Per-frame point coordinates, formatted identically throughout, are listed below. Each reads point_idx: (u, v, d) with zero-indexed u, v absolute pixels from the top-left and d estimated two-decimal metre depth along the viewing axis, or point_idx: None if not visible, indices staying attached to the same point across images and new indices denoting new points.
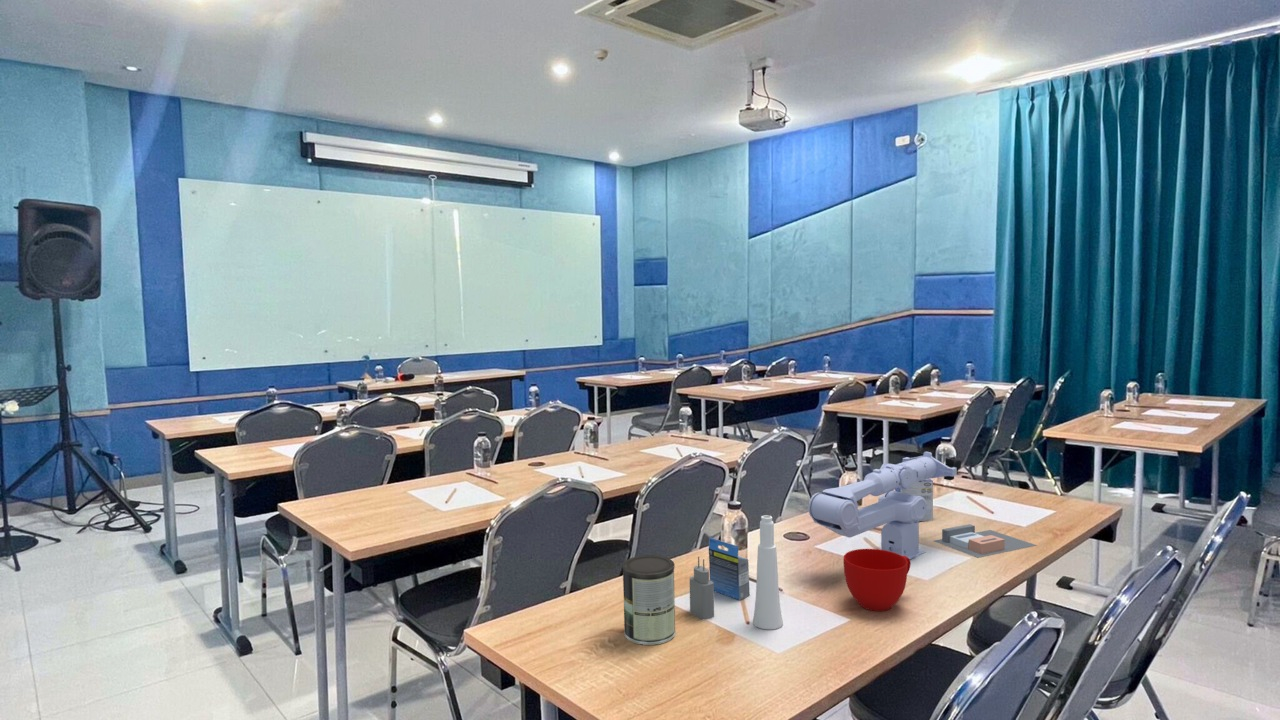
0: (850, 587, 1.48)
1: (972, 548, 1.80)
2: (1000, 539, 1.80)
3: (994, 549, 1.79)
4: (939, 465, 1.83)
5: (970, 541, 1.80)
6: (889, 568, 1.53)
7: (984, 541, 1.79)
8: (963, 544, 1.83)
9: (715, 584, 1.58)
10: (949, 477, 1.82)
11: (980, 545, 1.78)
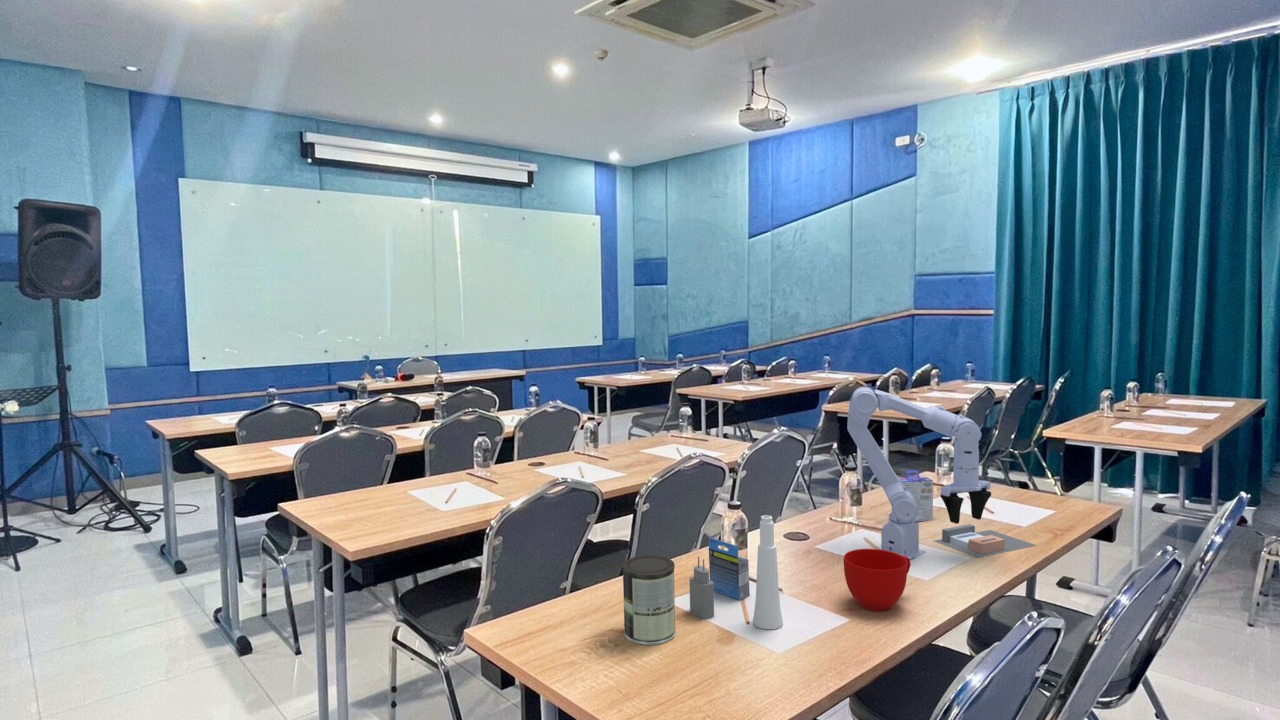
0: (850, 587, 1.48)
1: (972, 548, 1.80)
2: (1000, 539, 1.80)
3: (994, 549, 1.79)
4: None
5: (970, 541, 1.80)
6: (889, 568, 1.53)
7: (984, 541, 1.79)
8: (963, 544, 1.83)
9: (715, 584, 1.58)
10: None
11: (980, 545, 1.78)
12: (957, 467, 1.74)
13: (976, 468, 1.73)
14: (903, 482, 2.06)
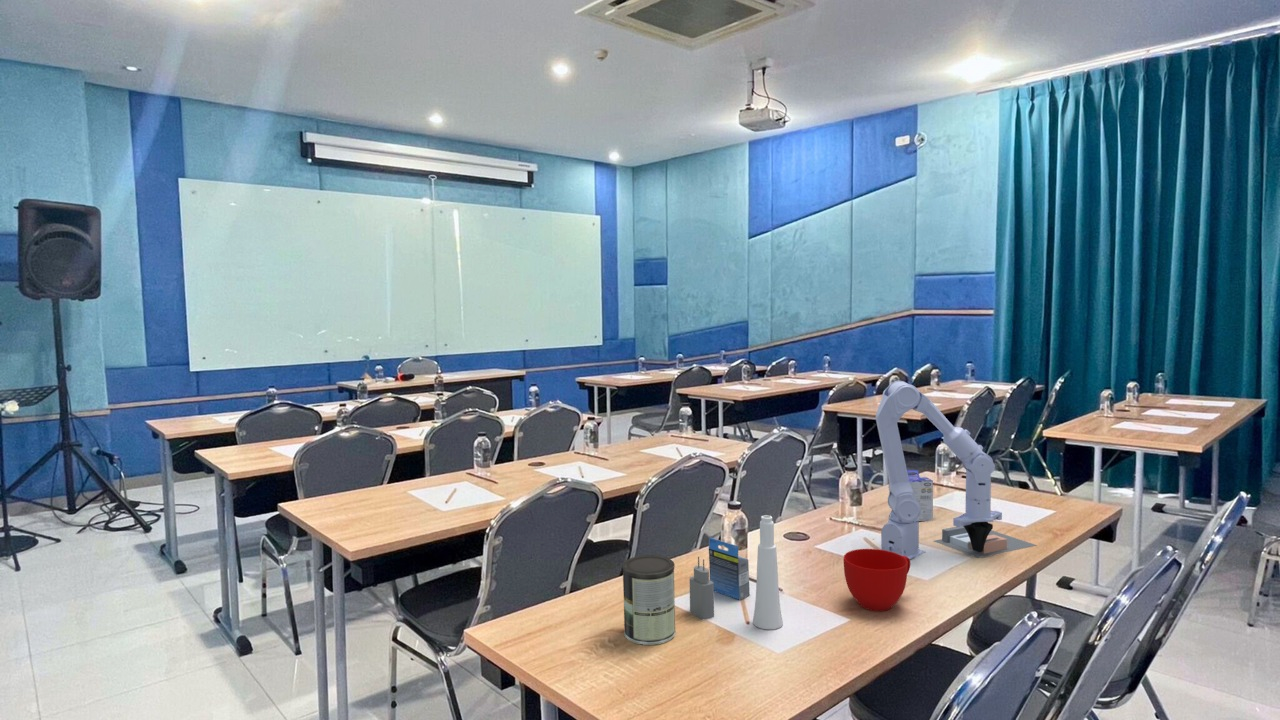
0: (850, 587, 1.48)
1: None
2: (1002, 539, 1.81)
3: (996, 549, 1.79)
4: None
5: None
6: (889, 568, 1.53)
7: (986, 541, 1.79)
8: (963, 544, 1.83)
9: (715, 584, 1.58)
10: None
11: None
12: (969, 498, 1.76)
13: (988, 499, 1.75)
14: None
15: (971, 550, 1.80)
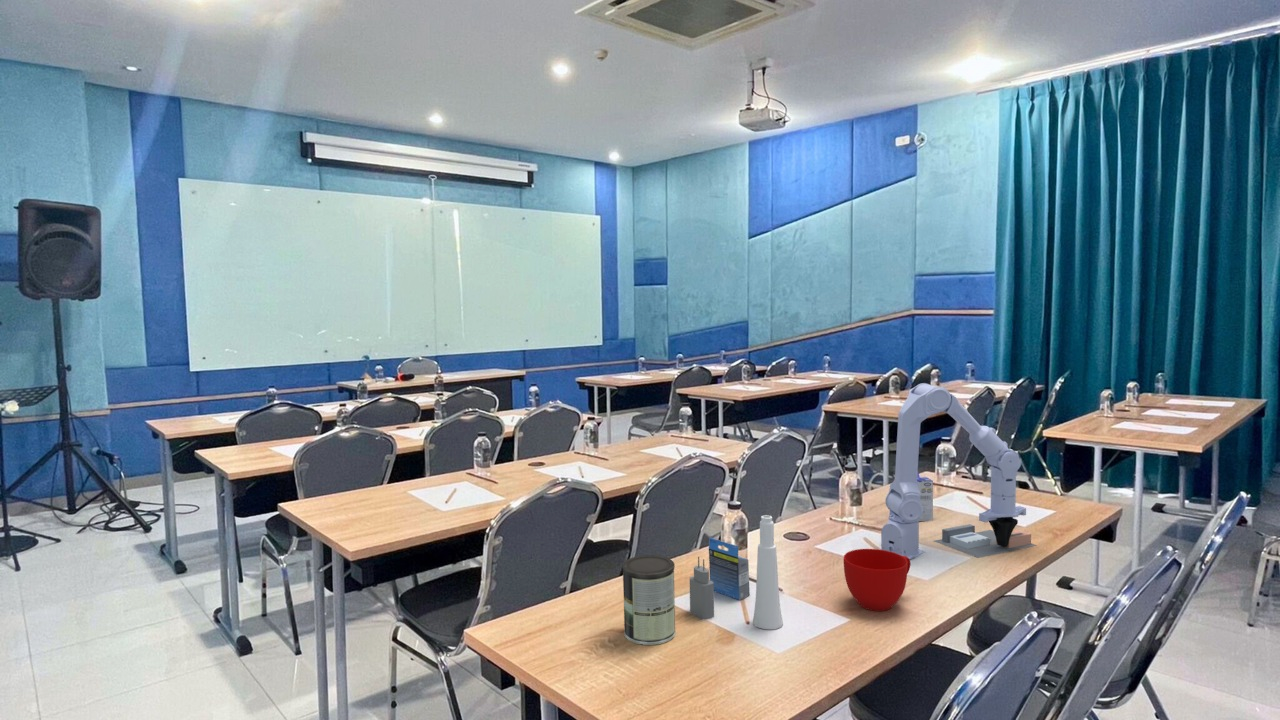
0: (850, 587, 1.48)
1: None
2: (1027, 534, 1.84)
3: (1021, 543, 1.83)
4: None
5: None
6: (889, 568, 1.53)
7: (1011, 536, 1.83)
8: (963, 544, 1.83)
9: (715, 584, 1.58)
10: None
11: None
12: (995, 494, 1.80)
13: (1013, 495, 1.78)
14: None
15: (971, 550, 1.80)
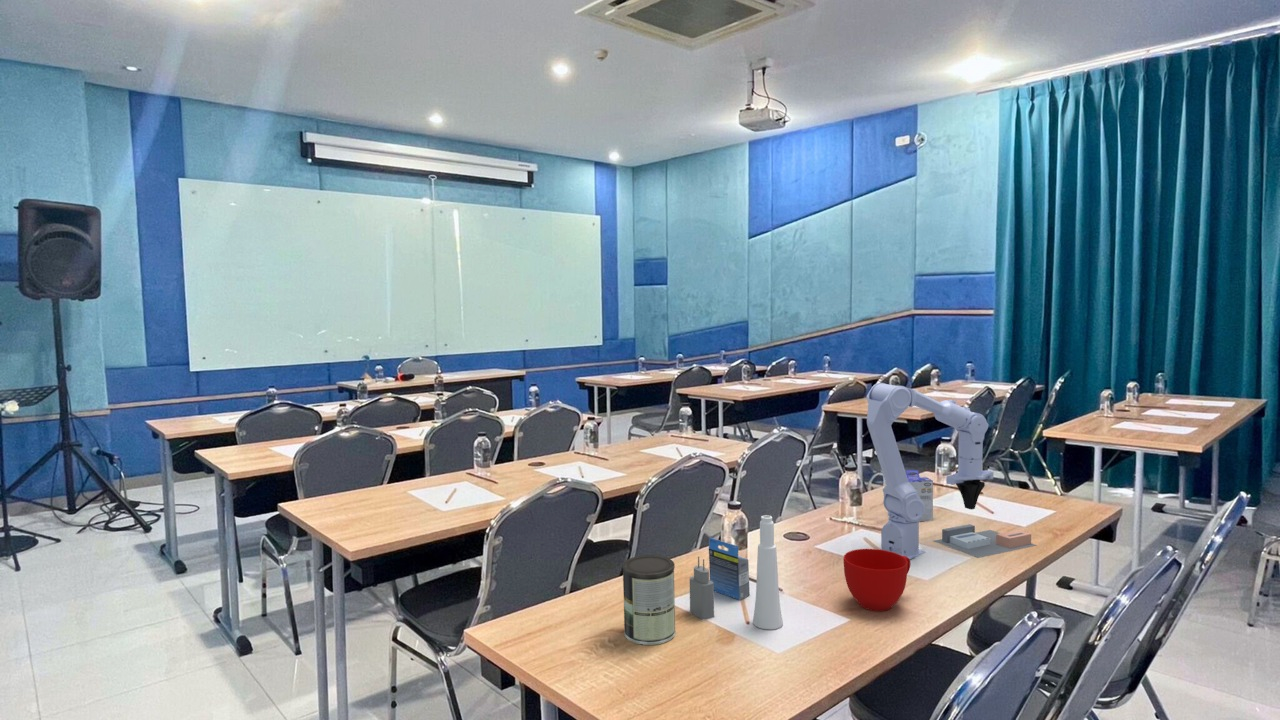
0: (850, 587, 1.48)
1: (999, 542, 1.84)
2: (1027, 534, 1.84)
3: (1021, 543, 1.83)
4: None
5: (997, 536, 1.84)
6: (889, 568, 1.53)
7: (1011, 536, 1.83)
8: (963, 544, 1.83)
9: (715, 584, 1.58)
10: None
11: (1008, 539, 1.81)
12: (962, 457, 1.83)
13: (980, 458, 1.81)
14: None
15: (971, 550, 1.80)
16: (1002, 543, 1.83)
